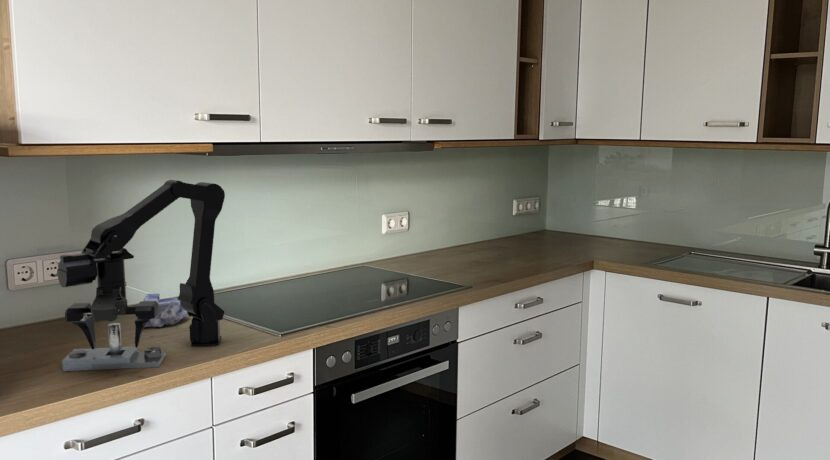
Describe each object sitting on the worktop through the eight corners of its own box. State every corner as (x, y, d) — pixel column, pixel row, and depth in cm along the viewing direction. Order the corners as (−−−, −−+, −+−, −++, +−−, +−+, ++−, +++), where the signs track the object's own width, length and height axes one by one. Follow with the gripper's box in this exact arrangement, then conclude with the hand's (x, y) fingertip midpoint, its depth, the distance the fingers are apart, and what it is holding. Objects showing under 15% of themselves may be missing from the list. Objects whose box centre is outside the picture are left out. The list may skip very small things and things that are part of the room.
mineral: (140, 298, 180) (132, 288, 188) (137, 333, 181) (129, 322, 189) (197, 297, 188) (187, 288, 196) (193, 331, 189) (183, 320, 197)
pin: (123, 361, 159) (121, 322, 158) (120, 364, 156) (118, 325, 155) (111, 361, 159) (109, 323, 157) (108, 365, 156) (106, 326, 155)
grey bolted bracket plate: (165, 355, 163) (165, 343, 163) (158, 367, 155) (158, 354, 155) (74, 359, 160) (74, 347, 160) (62, 371, 152) (62, 358, 152)
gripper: (53, 290, 145) (58, 361, 148) (147, 287, 148) (150, 357, 151) (71, 278, 156) (75, 345, 159) (158, 276, 159) (161, 342, 161)
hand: (115, 348), depth 157 cm, fingers open, 9 cm apart
